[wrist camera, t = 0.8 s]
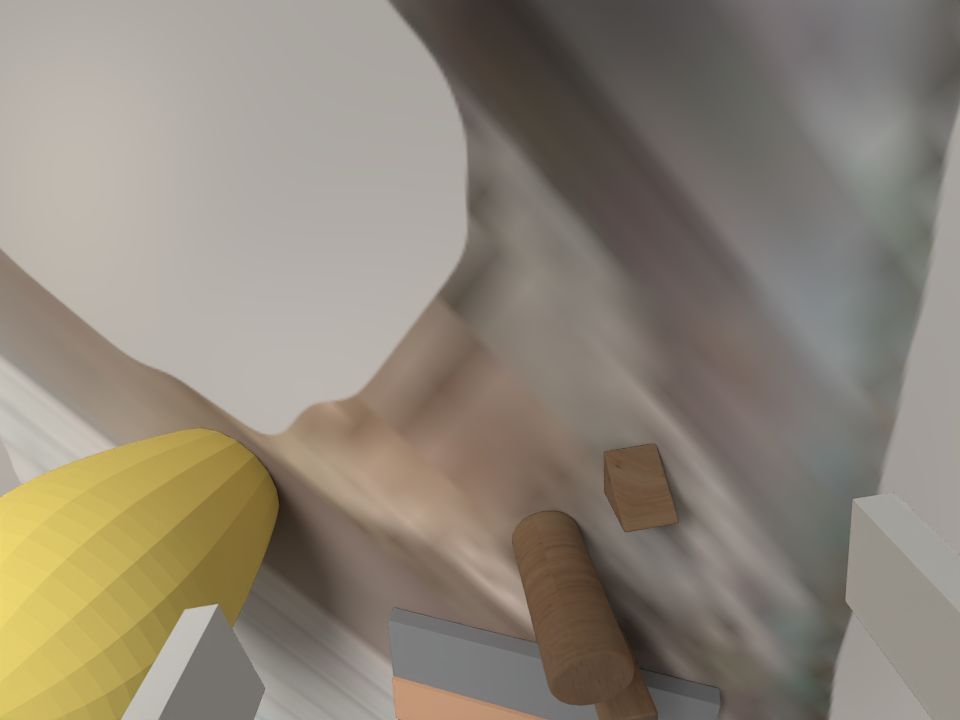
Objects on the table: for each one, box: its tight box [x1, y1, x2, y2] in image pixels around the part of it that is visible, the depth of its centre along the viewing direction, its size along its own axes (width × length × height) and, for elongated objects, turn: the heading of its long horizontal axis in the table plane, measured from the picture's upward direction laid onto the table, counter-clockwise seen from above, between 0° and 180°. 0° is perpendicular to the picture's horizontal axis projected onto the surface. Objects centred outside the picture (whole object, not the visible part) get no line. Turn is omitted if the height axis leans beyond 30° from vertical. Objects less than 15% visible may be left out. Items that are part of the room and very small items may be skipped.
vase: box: [0, 428, 279, 720], centre depth 32 cm, size 16×16×28 cm
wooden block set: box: [512, 444, 679, 720], centre depth 33 cm, size 18×9×10 cm, turn 6°
